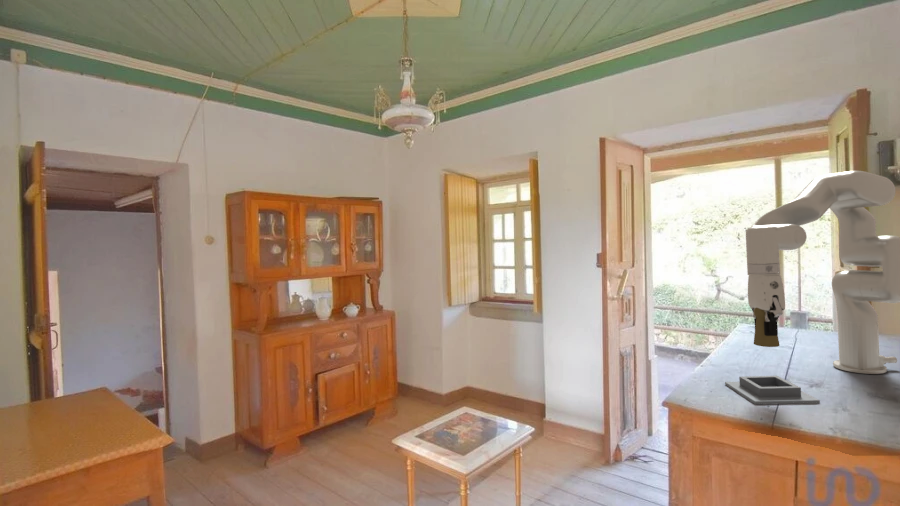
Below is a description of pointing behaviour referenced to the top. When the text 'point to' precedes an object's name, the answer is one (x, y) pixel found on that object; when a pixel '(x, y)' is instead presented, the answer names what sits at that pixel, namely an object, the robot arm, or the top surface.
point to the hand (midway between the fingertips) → (766, 333)
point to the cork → (759, 331)
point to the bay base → (770, 390)
